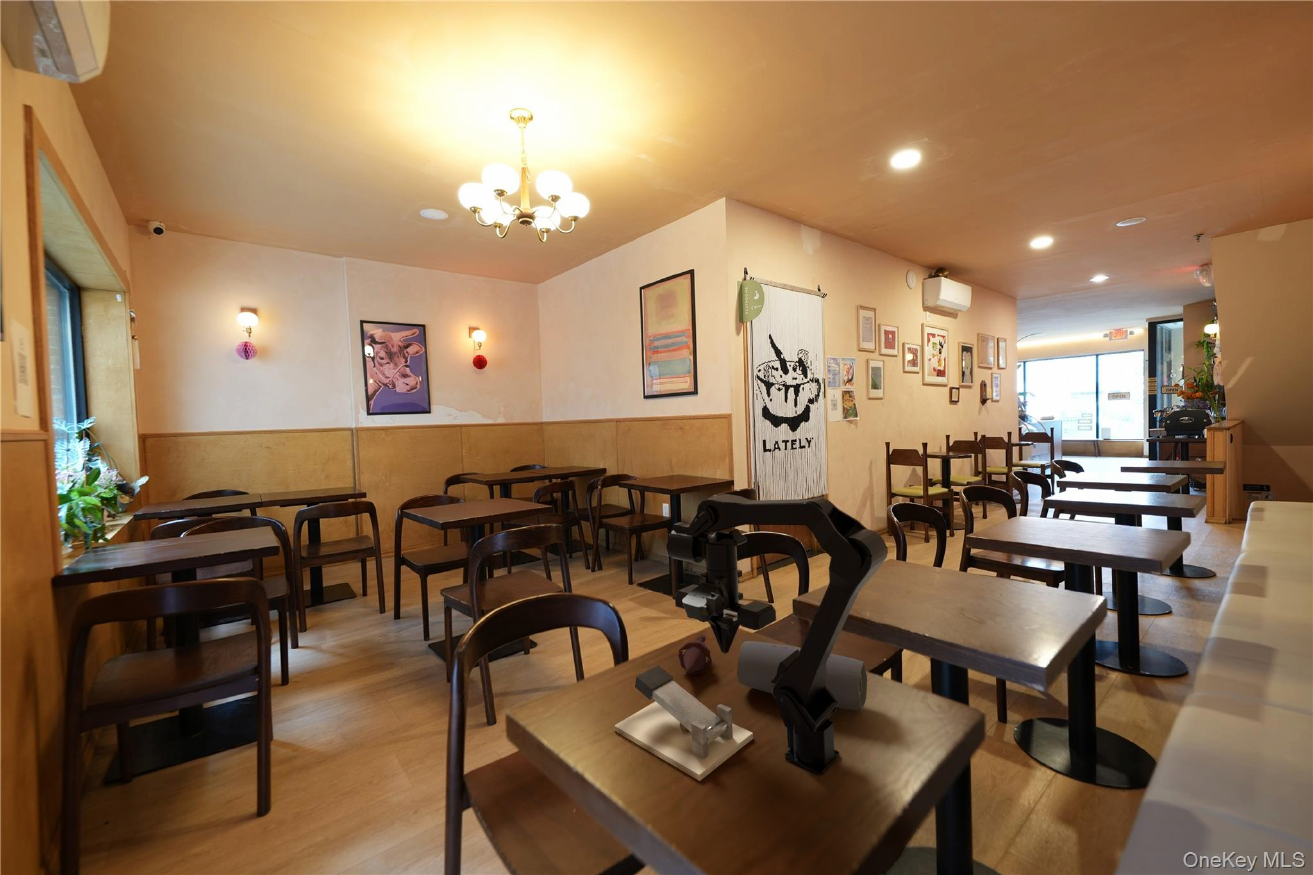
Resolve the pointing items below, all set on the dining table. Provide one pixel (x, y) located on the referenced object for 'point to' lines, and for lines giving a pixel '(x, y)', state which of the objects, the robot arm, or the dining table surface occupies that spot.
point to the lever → (678, 701)
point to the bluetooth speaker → (764, 658)
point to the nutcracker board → (683, 739)
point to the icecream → (695, 656)
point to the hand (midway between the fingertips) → (725, 652)
